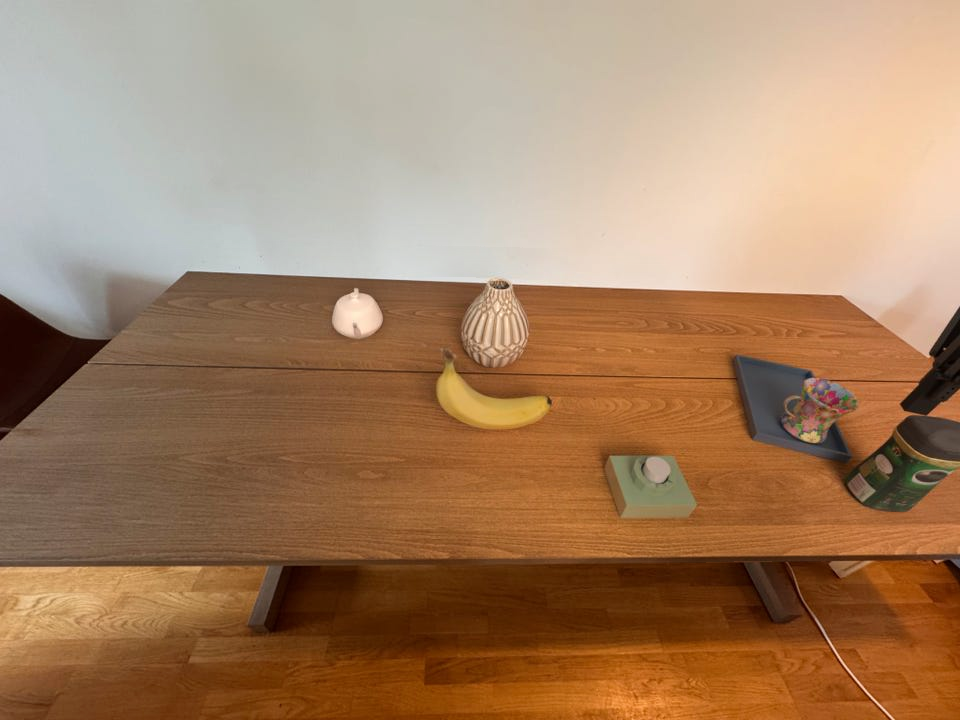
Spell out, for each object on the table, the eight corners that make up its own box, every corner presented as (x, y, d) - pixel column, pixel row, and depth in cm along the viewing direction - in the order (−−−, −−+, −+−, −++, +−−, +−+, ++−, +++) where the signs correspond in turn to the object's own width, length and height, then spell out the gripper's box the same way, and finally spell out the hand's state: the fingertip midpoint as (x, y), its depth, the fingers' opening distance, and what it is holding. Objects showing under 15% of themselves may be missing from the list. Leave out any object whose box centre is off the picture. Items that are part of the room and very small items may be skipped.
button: (647, 483, 70) (650, 476, 68) (638, 463, 73) (642, 456, 72) (670, 483, 70) (674, 476, 69) (661, 463, 73) (665, 456, 72)
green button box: (620, 518, 71) (630, 498, 67) (603, 468, 78) (612, 448, 75) (688, 517, 72) (702, 498, 68) (665, 468, 79) (677, 448, 75)
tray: (846, 463, 83) (852, 456, 81) (752, 439, 86) (757, 433, 85) (807, 376, 103) (811, 370, 102) (732, 360, 106) (735, 354, 105)
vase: (525, 340, 108) (536, 269, 95) (524, 381, 96) (537, 307, 83) (464, 333, 109) (467, 263, 96) (455, 374, 96) (457, 299, 83)
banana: (543, 412, 89) (561, 336, 76) (549, 433, 84) (569, 356, 71) (436, 415, 86) (435, 337, 73) (436, 437, 82) (435, 358, 69)
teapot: (385, 351, 101) (381, 316, 95) (331, 356, 99) (324, 320, 92) (382, 306, 116) (379, 273, 110) (335, 309, 114) (329, 276, 107)
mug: (810, 414, 92) (839, 379, 85) (836, 448, 85) (870, 412, 78) (755, 411, 92) (780, 375, 85) (777, 445, 85) (806, 408, 78)
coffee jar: (886, 479, 80) (962, 412, 68) (915, 517, 74) (1004, 450, 62) (834, 473, 81) (901, 405, 69) (858, 510, 75) (937, 443, 63)
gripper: (992, 227, 50) (864, 374, 65) (1075, 276, 40) (903, 436, 55) (1068, 238, 49) (920, 386, 64) (1174, 292, 39) (970, 451, 54)
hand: (912, 409), depth 60 cm, fingers closed
